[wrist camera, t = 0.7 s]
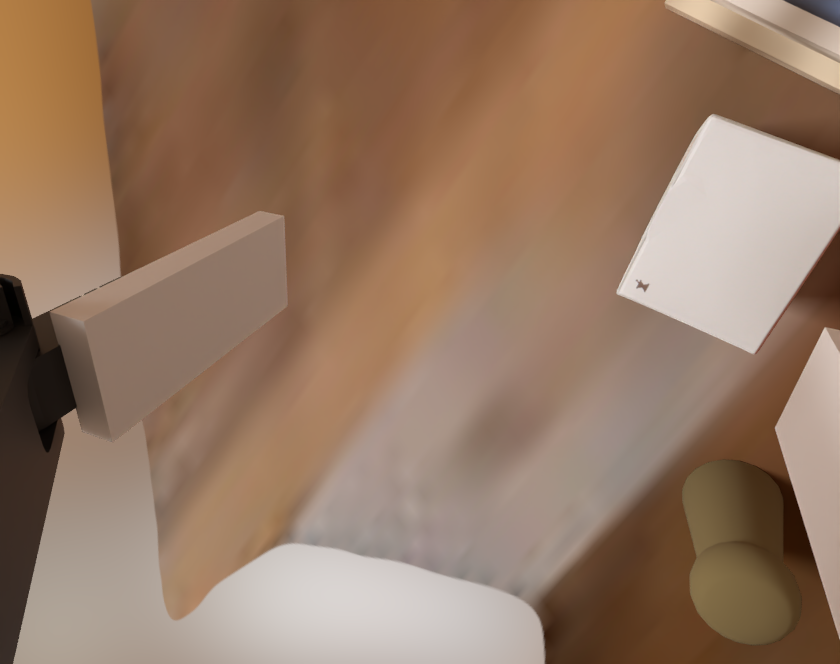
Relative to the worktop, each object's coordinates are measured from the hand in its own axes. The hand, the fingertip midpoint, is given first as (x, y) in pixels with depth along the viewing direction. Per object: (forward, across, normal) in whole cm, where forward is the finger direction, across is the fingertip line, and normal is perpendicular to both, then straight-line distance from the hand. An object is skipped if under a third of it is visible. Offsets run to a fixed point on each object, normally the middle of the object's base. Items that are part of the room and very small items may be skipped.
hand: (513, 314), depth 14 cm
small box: (+25, -8, +3) cm, 26 cm away
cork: (+21, -14, +21) cm, 33 cm away
